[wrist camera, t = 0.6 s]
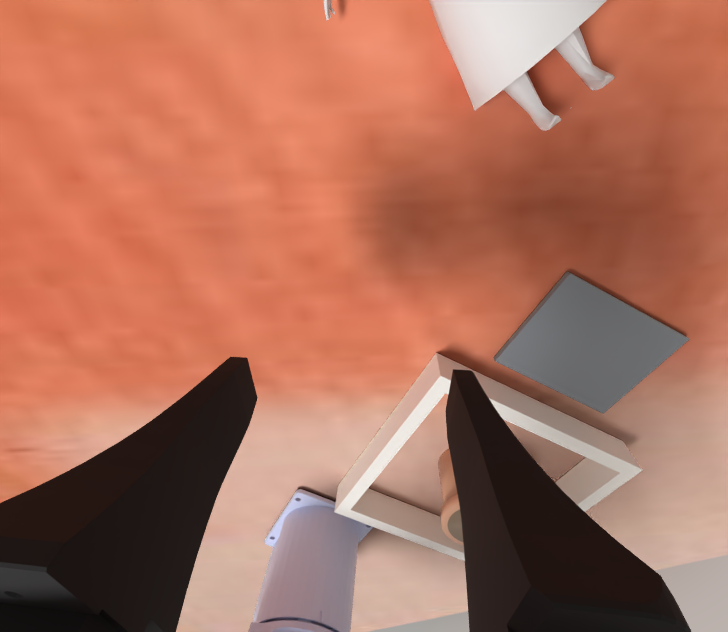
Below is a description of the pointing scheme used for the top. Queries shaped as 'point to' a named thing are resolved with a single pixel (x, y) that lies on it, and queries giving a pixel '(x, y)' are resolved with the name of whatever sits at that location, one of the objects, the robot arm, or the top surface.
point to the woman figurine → (514, 46)
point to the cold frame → (582, 483)
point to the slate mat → (588, 344)
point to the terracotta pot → (449, 500)
